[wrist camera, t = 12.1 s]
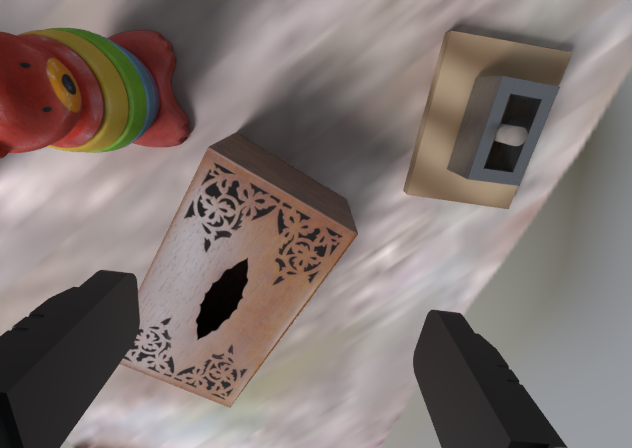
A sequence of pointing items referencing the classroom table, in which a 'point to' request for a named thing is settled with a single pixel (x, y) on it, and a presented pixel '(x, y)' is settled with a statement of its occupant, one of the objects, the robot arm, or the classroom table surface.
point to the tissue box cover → (235, 269)
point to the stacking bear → (87, 91)
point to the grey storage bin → (483, 122)
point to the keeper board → (449, 106)
